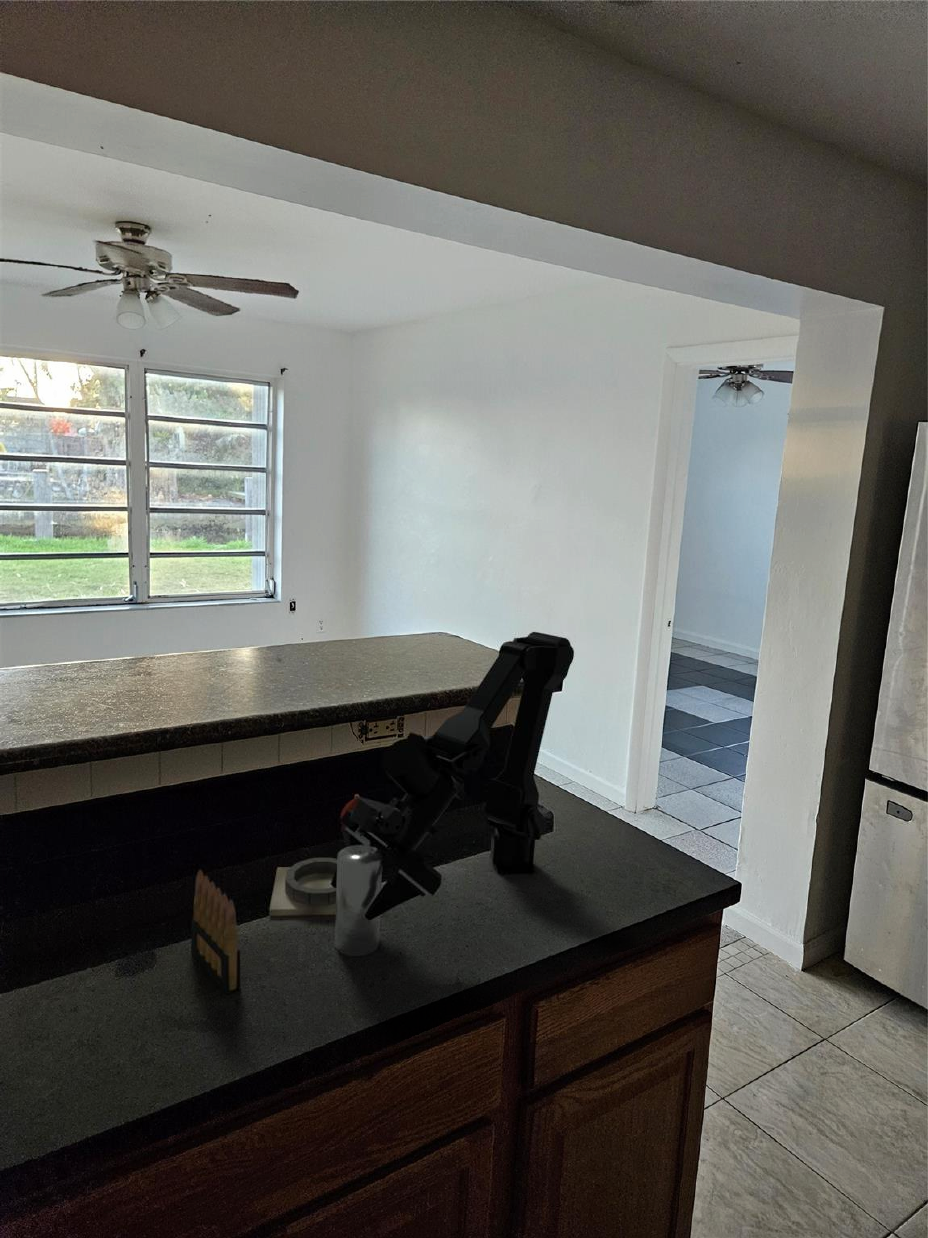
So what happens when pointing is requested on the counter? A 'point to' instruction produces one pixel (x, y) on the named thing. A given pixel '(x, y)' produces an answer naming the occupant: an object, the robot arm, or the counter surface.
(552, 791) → the counter surface
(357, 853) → the steel peg
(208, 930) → the ammunition clip
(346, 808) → the onion
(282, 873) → the socket plate
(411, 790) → the robot arm
